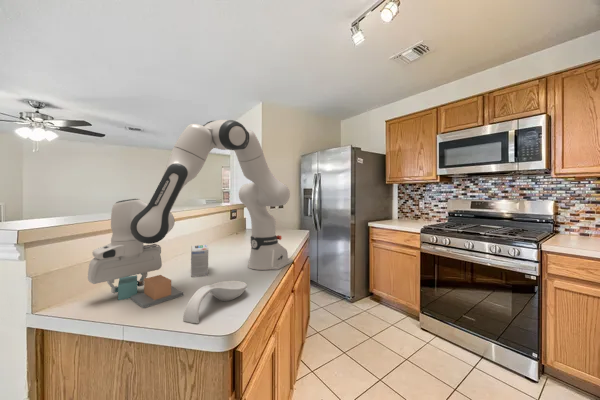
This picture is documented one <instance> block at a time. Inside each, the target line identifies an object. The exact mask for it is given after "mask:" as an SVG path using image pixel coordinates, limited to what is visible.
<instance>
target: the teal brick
mask: <svg viewBox="0 0 600 400" xmlns="http://www.w3.org/2000/svg"><path fill="white" fill-rule="evenodd" d="M137 281H138V274H137V275H132V276H128V277H124V278H119V279H118V285H117V287H118V292H117V300H118V301H122V300H128V299H130V296H132V295H136V294H138V286H137Z"/></svg>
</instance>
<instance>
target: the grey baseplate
mask: <svg viewBox="0 0 600 400" xmlns="http://www.w3.org/2000/svg"><path fill="white" fill-rule="evenodd" d="M184 293H185V292H184V291H182V290H180V289H178V288H176V287H174V286H172V285H171V295H169V296H166V297H162V298H159V299H156V300H154V299H152V298H151V297H149V296H148V295H146V294H145V293H144V291H143V292H140V293H137V294H136V295H132V296H130V298H129V299H130V300H131V301H132V302H134V303H135V304H136V305H138V306H139V307H141V309H145V308H148V307H151V306H154V305H158V304H160V303H164V302H166V301H170V300H173V299H176V298H179V297H182V296H184Z"/></svg>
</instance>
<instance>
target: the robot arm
mask: <svg viewBox="0 0 600 400" xmlns="http://www.w3.org/2000/svg"><path fill="white" fill-rule="evenodd" d="M213 149H218V150H223V151H226V150H229V151H234V152H235V155H236V158H237V162H238V164H239V166H240V169H241V170H242V171H241V172H242V173H243V176H244V177H245V178H246V179H247V180H249V181H250V182H249V183H245V184H242V186H240V188H239V191H238V198H239V201H240V202H241V203H242V204H243V205H244V206H245V207H246V209H247V211H248V213H249V217H250V223H251V236H250V246H251V247H250V253H249V261H248V265H247V267H248V268H250V269H251V270H252V269H253V270H257V271H260V270H263V271H265V270H266V271H267V270H275V271H276V270H279V269H282V268H284V267H285V266H288V265H289V264H292V263H293V259H292V258H290V257H289V255H288V253H289V252H288V249H286V248H285V247H284V246H283V245H282V244H280V243H279V241H281V240H282V239H283V237H282V235H280V234H279V235H276V223H277V222H276V218H275V217H274V216H273V215H271V213H269V211H268V209H267V207H279V206H280V207H281V206H284V205H286V204H288V201H289V200H290V197H291V192H290V189H289V187H288V185H287V184H285V183H283V182H282V181H280V180H279V179H278V178H277V177H276V176H275V175H274V174H273V172H272V171H271V170H270V168H269V166H268V162H267V160H266V157H265V155H264V152H263V149H262V146H261V143H260V142H259V139H258V137H257V136H256V133H255V132H254V131H253V130H251V129H246V127H245V126H244V125H243V124H242V123H240V122H239V121H236V120H233V119H230V120H229V119H217V120H210V121H207V122H206V123H204V124H203V125H202V124H199V123H190V124H188V125H187V126H186V127H185V128H184V129H183V131H182V132H181V134H180V135H179V136H178V139H177V140H176V142H175V144H174V145H173V148H172V150H171V151H170V152H171V153H170V154H169V158H168V160H167V164H166V167H165V170H164V172H163V176H162V178H161V179H160V182H159V183H158V185H157V187H156V189H155V191H154V193H153V195H152V197H151V198H150V200H149V202H148V203H146V202H144V201H143V200H141V199H140V198H130V199H122V200H118V201H116V202H115V203H114V204H112V209H111V214H110V215H111V216H110V228H111V231H112V233H111V238H110V243H108V244H106V245H103V246H100V247H98V248H96V249H94V250H92V256H93V258H92V259H91V260H90V261H89V263H88V264H89V265H88V271H87V280H88V282H89V283H91V284H93V285H96V284H100V283H106V284H107V285H108V286H109V287H110V289H111V294H116V293H117V294H118V285H114V283H115V280H119V278H124V277H128V276H135V275H137V276H138V275H140V276H141V277H140V279H137V288H138V287H144V279H145V278H148V273H149V272H153V271H158V270H160V269H161V268H162V265H163V264H162V263H163V262H162V256H161V253H162V247H161V245H159V244H157V243H158V242H160V241H162V240H163V239H164V238H165V237H166V236H167V234H168V233H169V232H171V231H172V230H173V228H174V226H175V222H176V221H175V216H174V215H173V214H172V212H171V211H172V209H173V207H174V205H175V203H176V201H177V199H178V196H179V195H180V193H181V191H182V190H183V188H184V187H185V186H186V185H187V184H188V183H189V182H191V181H192V180H193V179H195V178H196V177H197V176H198V174H199V173H200V172H201V170H202V169H203V167H204V165H205V162H206V161H207V158H208V155H209V154H210V152H211V151H212V150H213Z"/></svg>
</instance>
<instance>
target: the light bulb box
mask: <svg viewBox="0 0 600 400" xmlns="http://www.w3.org/2000/svg"><path fill="white" fill-rule="evenodd" d="M190 252H191V254H190V277H191V278H195V277H197V278H198V277H204V276H205V277H206V276H209V247H208V244H203V245H202V244H201V245H199V244H198V245H191V251H190Z"/></svg>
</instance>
